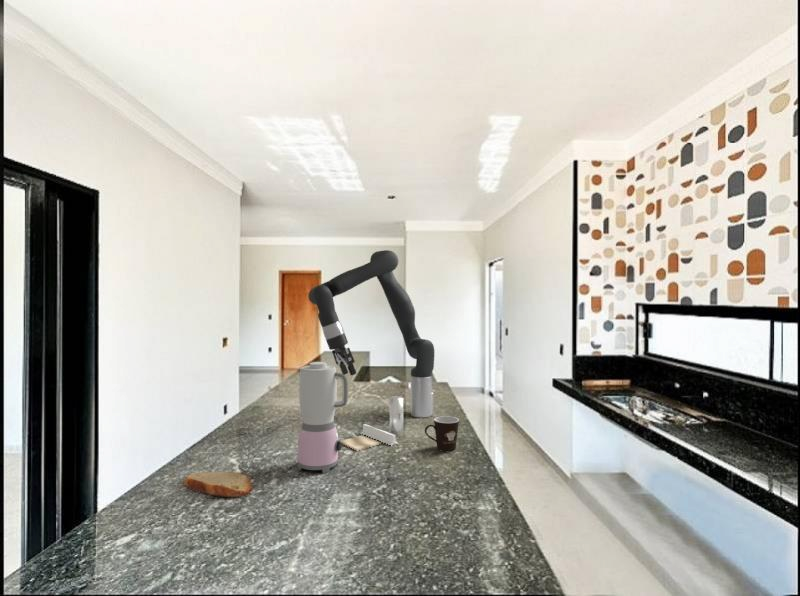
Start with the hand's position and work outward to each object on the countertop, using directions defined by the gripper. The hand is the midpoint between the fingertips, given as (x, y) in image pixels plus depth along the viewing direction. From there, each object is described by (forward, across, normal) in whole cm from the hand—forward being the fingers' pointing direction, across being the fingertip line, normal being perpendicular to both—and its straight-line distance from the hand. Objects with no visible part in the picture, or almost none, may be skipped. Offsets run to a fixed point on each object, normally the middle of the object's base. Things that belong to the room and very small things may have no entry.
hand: (349, 374), depth 179 cm
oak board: (+22, -13, +10) cm, 27 cm away
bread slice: (+9, -28, +57) cm, 64 cm away
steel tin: (+27, -9, -6) cm, 29 cm away
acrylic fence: (+24, -11, +2) cm, 27 cm away
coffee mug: (+32, -30, -12) cm, 45 cm away
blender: (+18, -27, +28) cm, 43 cm away
